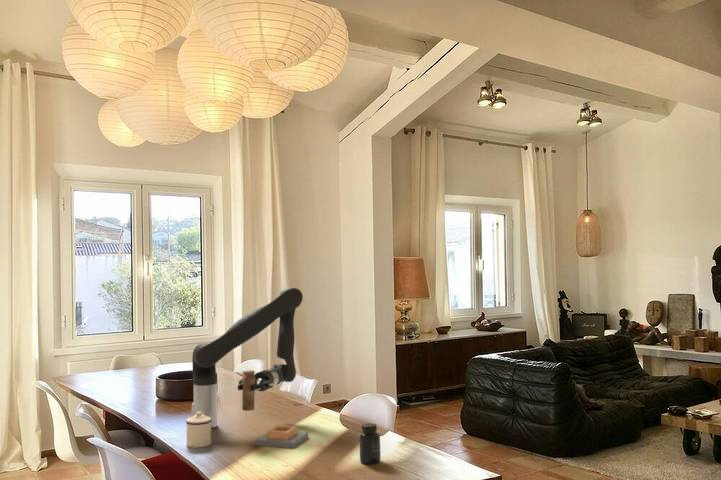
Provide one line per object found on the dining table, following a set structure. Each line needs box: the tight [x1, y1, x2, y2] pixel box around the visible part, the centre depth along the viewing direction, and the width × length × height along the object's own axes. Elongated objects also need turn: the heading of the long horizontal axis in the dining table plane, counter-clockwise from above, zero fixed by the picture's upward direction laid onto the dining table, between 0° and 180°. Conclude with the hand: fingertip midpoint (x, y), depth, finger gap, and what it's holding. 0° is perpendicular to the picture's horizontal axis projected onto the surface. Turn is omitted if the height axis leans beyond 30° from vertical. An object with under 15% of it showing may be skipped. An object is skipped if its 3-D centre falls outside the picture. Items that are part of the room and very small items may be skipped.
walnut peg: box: [241, 370, 256, 411], centre depth 231 cm, size 4×4×14 cm
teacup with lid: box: [185, 412, 212, 449], centre depth 225 cm, size 12×9×12 cm
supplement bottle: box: [358, 422, 382, 466], centre depth 202 cm, size 7×7×12 cm
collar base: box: [254, 424, 309, 449], centre depth 227 cm, size 15×14×4 cm
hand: (245, 387), depth 228 cm, fingers closed on walnut peg, 4 cm apart
